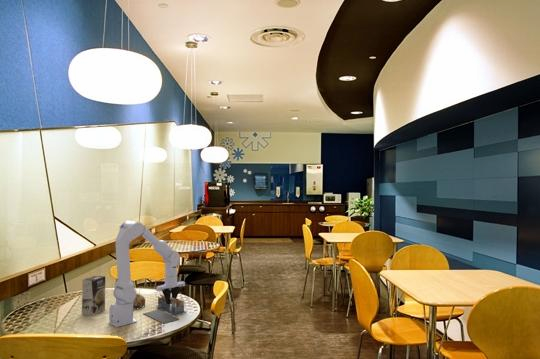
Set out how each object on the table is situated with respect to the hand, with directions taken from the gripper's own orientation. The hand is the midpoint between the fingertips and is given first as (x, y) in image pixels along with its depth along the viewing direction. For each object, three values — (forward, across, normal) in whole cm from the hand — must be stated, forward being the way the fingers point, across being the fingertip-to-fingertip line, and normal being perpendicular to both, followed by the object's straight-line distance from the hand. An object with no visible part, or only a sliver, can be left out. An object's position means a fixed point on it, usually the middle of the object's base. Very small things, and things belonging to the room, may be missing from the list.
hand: (170, 303), depth 193 cm
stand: (+3, 0, 0) cm, 3 cm away
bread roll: (+3, +10, -17) cm, 20 cm away
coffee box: (+3, +28, -22) cm, 36 cm away
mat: (+3, +8, +6) cm, 11 cm away
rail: (0, 0, 0) cm, 0 cm away
